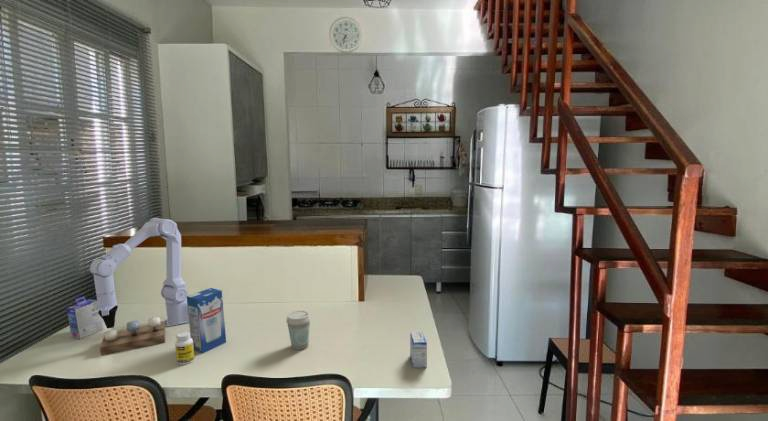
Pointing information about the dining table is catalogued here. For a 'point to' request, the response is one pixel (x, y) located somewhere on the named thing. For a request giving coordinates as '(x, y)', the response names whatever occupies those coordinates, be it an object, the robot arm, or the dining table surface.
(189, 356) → the supplement bottle
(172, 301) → the robot arm
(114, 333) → the knob
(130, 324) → the middle knob
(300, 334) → the coffee cup
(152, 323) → the knob
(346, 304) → the dining table surface
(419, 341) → the medicine box
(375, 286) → the dining table surface
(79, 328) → the ink cartridge box
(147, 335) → the knob panel
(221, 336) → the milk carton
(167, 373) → the dining table surface
